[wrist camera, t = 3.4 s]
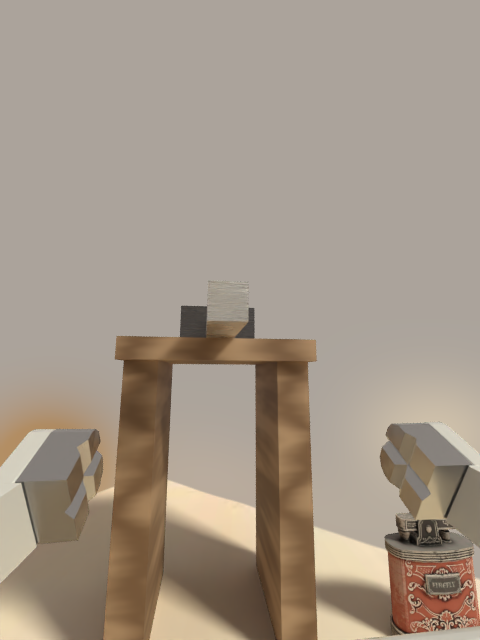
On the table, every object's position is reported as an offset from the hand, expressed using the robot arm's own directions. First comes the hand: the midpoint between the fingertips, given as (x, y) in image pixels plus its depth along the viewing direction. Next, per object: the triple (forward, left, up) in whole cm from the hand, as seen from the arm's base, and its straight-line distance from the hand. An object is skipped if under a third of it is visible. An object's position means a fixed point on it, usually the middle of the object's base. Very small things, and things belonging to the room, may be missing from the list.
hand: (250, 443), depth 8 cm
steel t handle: (0, +18, +5) cm, 18 cm away
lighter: (+20, +20, -21) cm, 35 cm away
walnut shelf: (0, +25, -21) cm, 32 cm away
